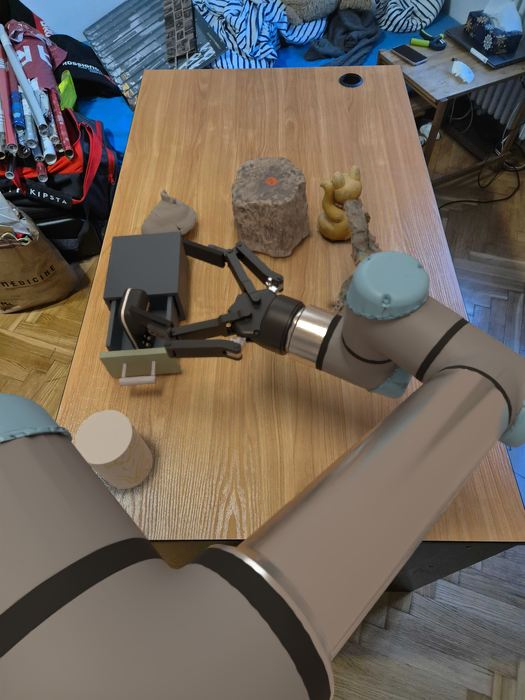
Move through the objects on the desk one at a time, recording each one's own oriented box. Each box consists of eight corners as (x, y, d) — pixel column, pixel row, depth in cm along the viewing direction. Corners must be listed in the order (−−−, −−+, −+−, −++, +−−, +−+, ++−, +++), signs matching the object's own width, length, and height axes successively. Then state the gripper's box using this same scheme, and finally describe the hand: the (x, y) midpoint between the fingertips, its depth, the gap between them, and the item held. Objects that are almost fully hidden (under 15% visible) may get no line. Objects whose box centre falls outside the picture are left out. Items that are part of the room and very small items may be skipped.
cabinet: (186, 320, 91) (177, 292, 84) (117, 325, 91) (102, 298, 84) (188, 261, 100) (180, 231, 92) (125, 266, 100) (112, 236, 93)
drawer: (179, 393, 82) (171, 374, 76) (109, 398, 82) (95, 379, 76) (183, 308, 92) (176, 286, 86) (120, 313, 92) (109, 291, 86)
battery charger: (155, 354, 85) (138, 317, 75) (134, 353, 85) (115, 316, 76) (162, 323, 89) (147, 284, 79) (142, 322, 89) (125, 283, 79)
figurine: (329, 279, 95) (341, 175, 74) (393, 280, 94) (424, 175, 73) (331, 365, 84) (345, 272, 63) (403, 367, 84) (443, 273, 62)
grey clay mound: (156, 223, 110) (149, 178, 103) (205, 227, 109) (201, 182, 102) (137, 248, 101) (128, 201, 94) (190, 253, 100) (184, 206, 93)
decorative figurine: (345, 212, 105) (353, 153, 93) (369, 233, 102) (381, 175, 89) (311, 231, 103) (314, 172, 90) (335, 253, 99) (342, 195, 86)
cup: (130, 498, 73) (105, 475, 63) (92, 472, 76) (62, 445, 66) (162, 455, 77) (143, 426, 67) (125, 432, 79) (101, 400, 69)
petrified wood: (240, 197, 110) (234, 138, 97) (314, 202, 108) (317, 143, 95) (224, 255, 100) (215, 199, 87) (305, 262, 98) (308, 205, 85)
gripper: (254, 422, 58) (116, 359, 64) (330, 282, 70) (208, 240, 76) (250, 394, 52) (97, 328, 58) (335, 246, 63) (201, 203, 69)
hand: (160, 278), depth 67 cm, fingers open, 13 cm apart
